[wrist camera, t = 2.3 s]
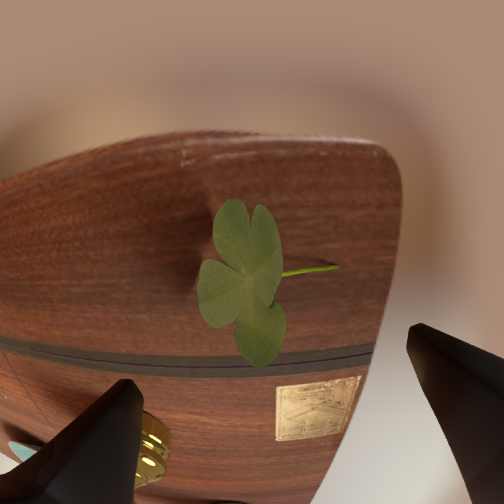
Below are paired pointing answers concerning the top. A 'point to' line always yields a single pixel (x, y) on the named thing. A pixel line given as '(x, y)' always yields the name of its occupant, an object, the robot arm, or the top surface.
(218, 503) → the soda can
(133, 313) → the top surface
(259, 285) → the green clover leaf
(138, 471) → the brass weight
